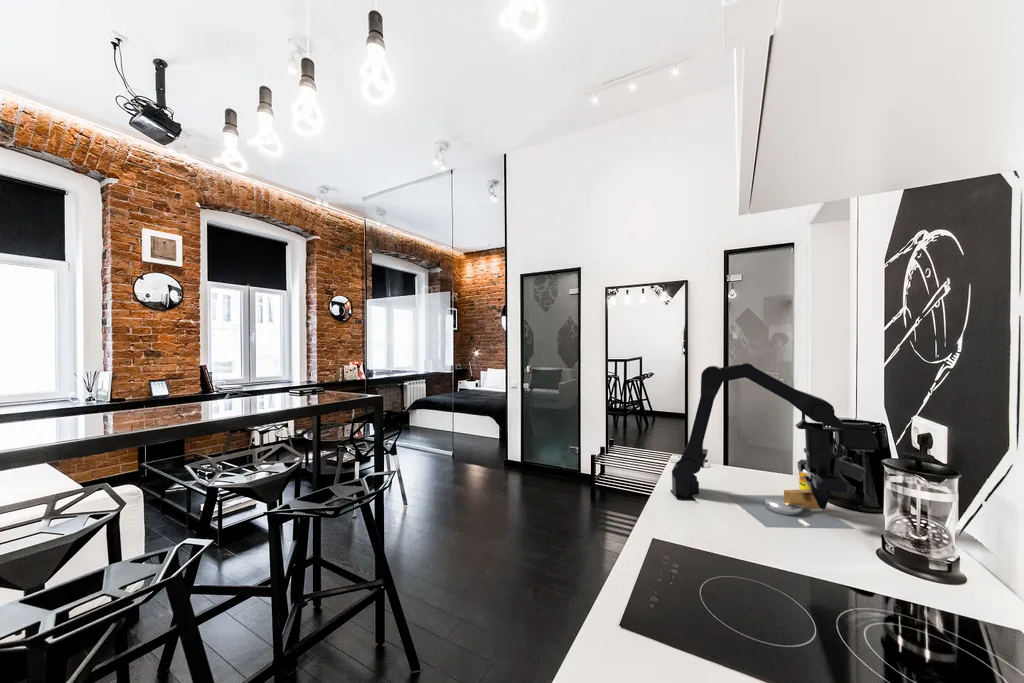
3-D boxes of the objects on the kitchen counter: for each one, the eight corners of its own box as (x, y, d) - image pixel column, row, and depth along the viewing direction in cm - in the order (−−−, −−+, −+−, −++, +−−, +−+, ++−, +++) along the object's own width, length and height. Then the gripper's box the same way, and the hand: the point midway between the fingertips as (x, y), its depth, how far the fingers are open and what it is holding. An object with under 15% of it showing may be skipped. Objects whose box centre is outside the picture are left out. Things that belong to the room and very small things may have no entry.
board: (766, 532, 91) (766, 525, 91) (726, 499, 111) (725, 493, 111) (855, 533, 90) (854, 526, 90) (798, 499, 110) (797, 494, 110)
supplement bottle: (797, 492, 115) (795, 458, 115) (819, 495, 113) (818, 460, 113) (803, 499, 110) (801, 464, 110) (827, 502, 108) (825, 466, 108)
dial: (779, 516, 96) (779, 498, 97) (758, 503, 104) (757, 486, 105) (833, 514, 97) (833, 496, 97) (808, 502, 105) (807, 485, 105)
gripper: (876, 459, 86) (880, 529, 86) (846, 442, 103) (848, 500, 102) (815, 454, 91) (818, 521, 90) (795, 438, 108) (798, 494, 107)
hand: (822, 508), depth 97 cm, fingers closed
